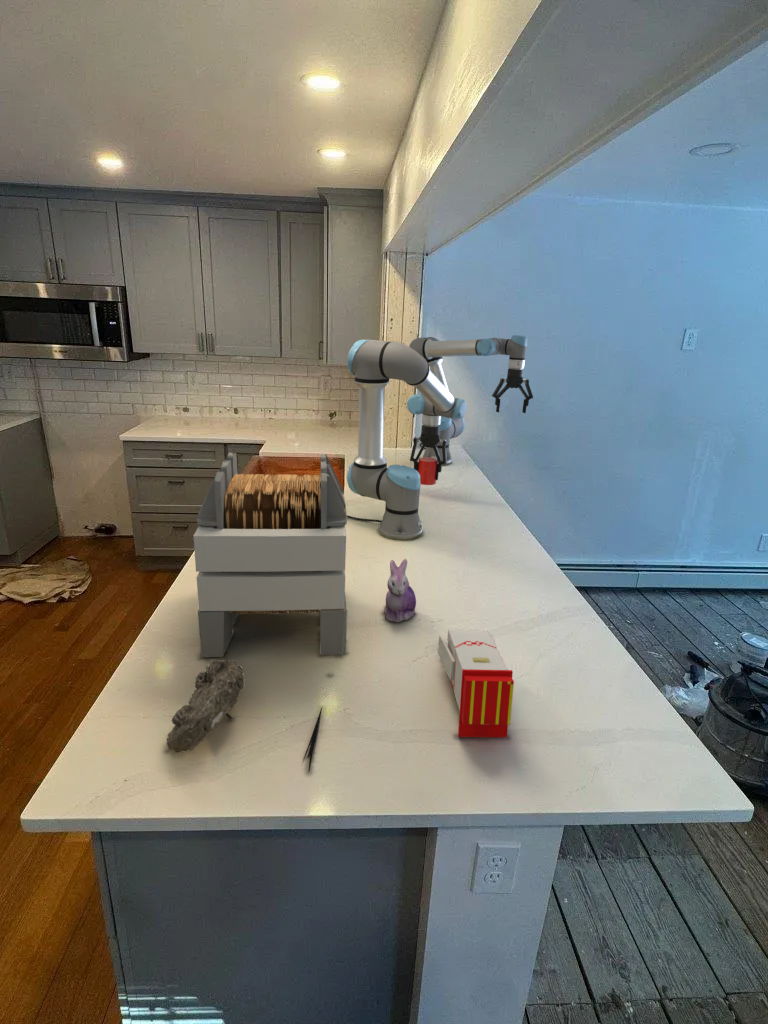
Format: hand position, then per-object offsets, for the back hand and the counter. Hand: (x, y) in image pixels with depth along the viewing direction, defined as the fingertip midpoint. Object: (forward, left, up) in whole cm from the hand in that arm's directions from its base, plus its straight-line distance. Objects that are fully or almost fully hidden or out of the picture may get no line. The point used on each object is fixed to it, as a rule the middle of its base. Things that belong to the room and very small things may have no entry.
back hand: (510, 412), depth 282 cm
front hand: (+47, -50, -21) cm, 71 cm away
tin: (+47, -49, -23) cm, 72 cm away
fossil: (+183, -115, -28) cm, 218 cm away
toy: (+178, -63, -28) cm, 191 cm away
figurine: (+146, -74, -28) cm, 166 cm away
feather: (+184, -95, -28) cm, 209 cm away
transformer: (+147, -105, -28) cm, 183 cm away
